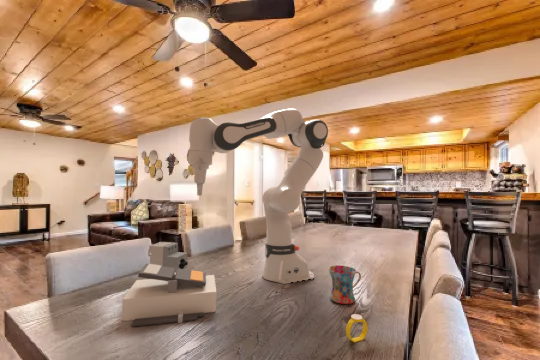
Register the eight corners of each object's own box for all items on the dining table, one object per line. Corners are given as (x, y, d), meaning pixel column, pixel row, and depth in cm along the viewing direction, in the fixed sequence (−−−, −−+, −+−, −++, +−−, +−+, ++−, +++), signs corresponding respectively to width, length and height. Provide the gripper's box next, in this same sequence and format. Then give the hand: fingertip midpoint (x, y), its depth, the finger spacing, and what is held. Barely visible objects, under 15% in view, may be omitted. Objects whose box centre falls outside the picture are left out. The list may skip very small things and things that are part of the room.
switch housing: (213, 291, 94) (214, 265, 95) (215, 311, 79) (216, 279, 79) (136, 297, 88) (137, 269, 88) (121, 321, 72) (123, 286, 73)
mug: (337, 308, 83) (337, 274, 83) (323, 296, 92) (323, 266, 92) (369, 303, 86) (369, 271, 87) (352, 293, 95) (352, 264, 95)
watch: (351, 347, 63) (350, 322, 63) (344, 340, 65) (343, 317, 65) (370, 339, 65) (369, 316, 65) (362, 334, 68) (361, 311, 68)
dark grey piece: (204, 314, 77) (204, 308, 77) (204, 320, 74) (204, 313, 74) (133, 322, 72) (133, 315, 72) (130, 328, 69) (130, 321, 69)
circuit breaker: (180, 287, 98) (181, 247, 98) (147, 284, 100) (148, 245, 101) (190, 280, 105) (191, 243, 105) (159, 277, 108) (160, 241, 108)
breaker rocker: (204, 276, 91) (205, 271, 91) (204, 287, 81) (206, 282, 81) (145, 267, 86) (146, 262, 86) (137, 277, 76) (139, 272, 76)
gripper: (209, 156, 90) (208, 196, 90) (208, 162, 110) (207, 194, 109) (190, 156, 89) (189, 196, 88) (193, 162, 108) (192, 194, 108)
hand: (199, 195), depth 99 cm, fingers closed
